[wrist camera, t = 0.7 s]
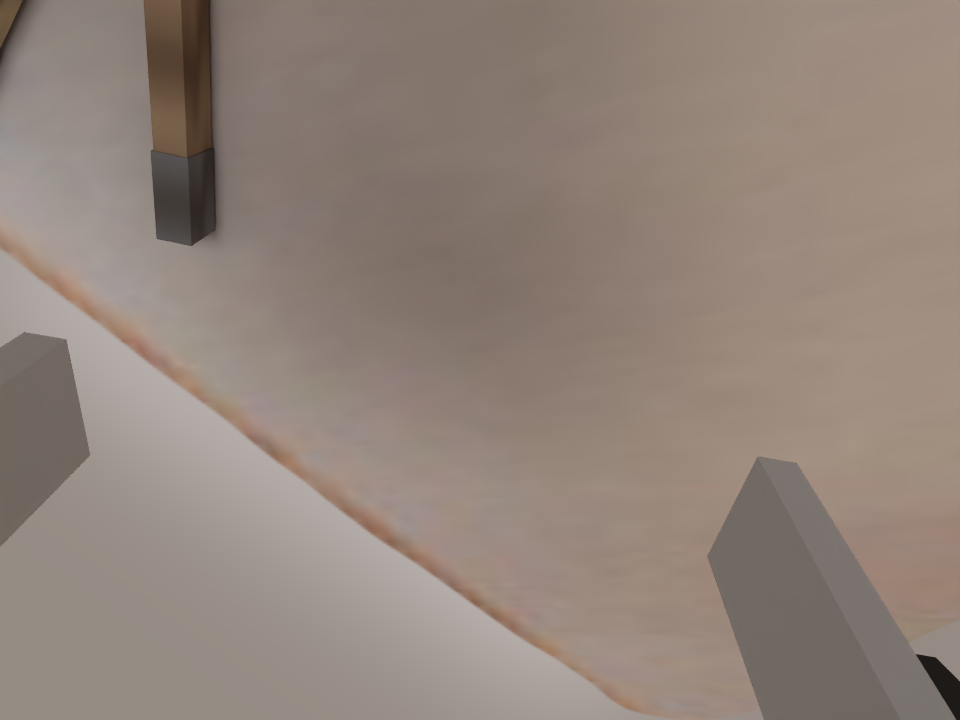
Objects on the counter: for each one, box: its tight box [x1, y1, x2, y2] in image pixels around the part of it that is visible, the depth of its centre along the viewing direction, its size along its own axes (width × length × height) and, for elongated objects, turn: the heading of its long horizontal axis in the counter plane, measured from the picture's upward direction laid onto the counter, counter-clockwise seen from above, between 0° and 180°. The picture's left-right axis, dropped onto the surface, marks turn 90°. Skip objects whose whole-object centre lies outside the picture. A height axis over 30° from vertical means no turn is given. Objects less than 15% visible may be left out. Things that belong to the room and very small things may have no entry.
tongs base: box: [144, 0, 215, 246], centre depth 30 cm, size 23×4×4 cm, turn 169°
